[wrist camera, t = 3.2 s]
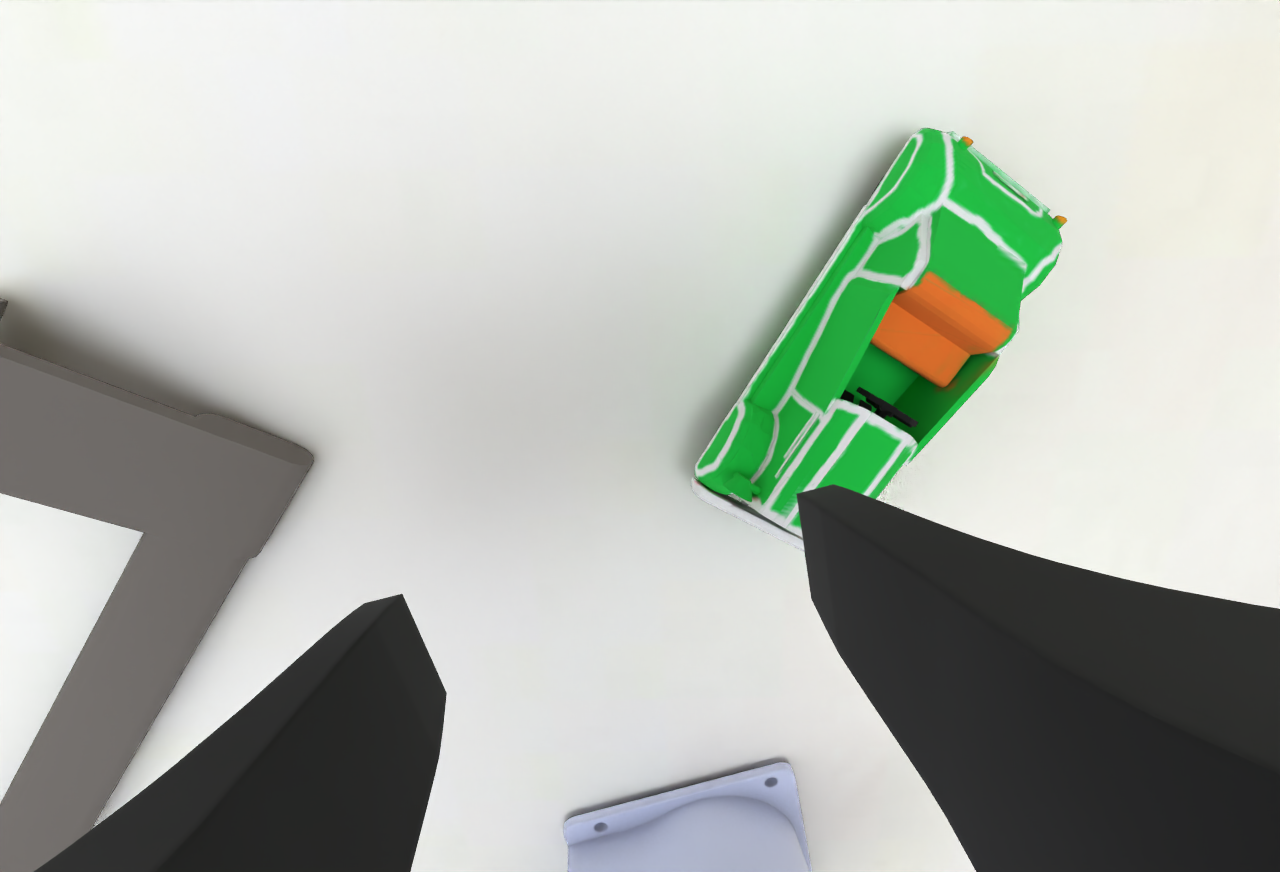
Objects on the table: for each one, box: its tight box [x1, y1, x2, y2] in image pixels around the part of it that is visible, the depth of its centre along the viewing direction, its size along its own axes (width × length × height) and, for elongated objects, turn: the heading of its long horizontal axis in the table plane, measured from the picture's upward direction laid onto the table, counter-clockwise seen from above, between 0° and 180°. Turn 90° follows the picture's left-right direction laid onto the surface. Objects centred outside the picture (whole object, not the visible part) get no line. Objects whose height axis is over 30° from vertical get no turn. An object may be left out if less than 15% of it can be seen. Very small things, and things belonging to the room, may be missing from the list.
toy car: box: [691, 128, 1067, 551], centre depth 16 cm, size 12×5×4 cm, turn 149°
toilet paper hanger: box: [0, 298, 314, 872], centre depth 18 cm, size 20×8×3 cm, turn 145°
